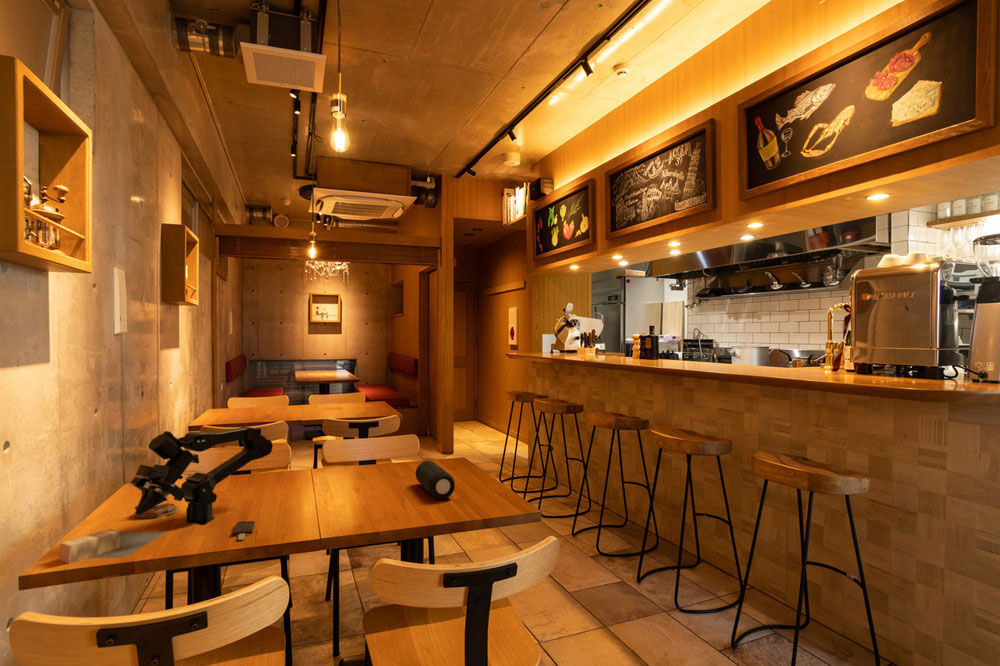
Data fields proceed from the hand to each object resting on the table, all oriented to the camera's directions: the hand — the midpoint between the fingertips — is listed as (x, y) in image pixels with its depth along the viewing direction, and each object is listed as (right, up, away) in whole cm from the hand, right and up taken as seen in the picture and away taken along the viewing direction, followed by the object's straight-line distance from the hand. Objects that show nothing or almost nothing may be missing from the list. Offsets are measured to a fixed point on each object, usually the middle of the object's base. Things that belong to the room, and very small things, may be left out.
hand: (136, 514), depth 156 cm
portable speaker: (+80, -10, +54) cm, 97 cm away
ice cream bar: (+27, -9, +8) cm, 30 cm away
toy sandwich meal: (-9, -8, +24) cm, 27 cm away
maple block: (-3, -5, -5) cm, 8 cm away
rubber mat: (-2, -8, -3) cm, 9 cm away
